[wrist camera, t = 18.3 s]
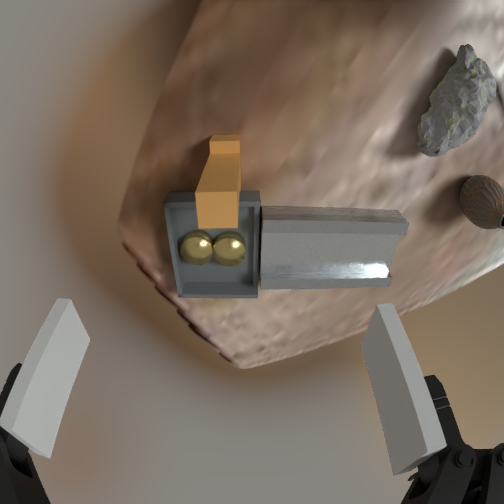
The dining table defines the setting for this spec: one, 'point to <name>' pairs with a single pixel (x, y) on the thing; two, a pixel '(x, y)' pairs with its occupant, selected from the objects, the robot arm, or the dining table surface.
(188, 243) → the gold domed disc
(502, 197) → the vase
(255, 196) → the tray
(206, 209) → the orange l-shaped bar
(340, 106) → the dining table surface
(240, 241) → the gold domed disc
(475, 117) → the mineral specimen
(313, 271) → the slot rail
